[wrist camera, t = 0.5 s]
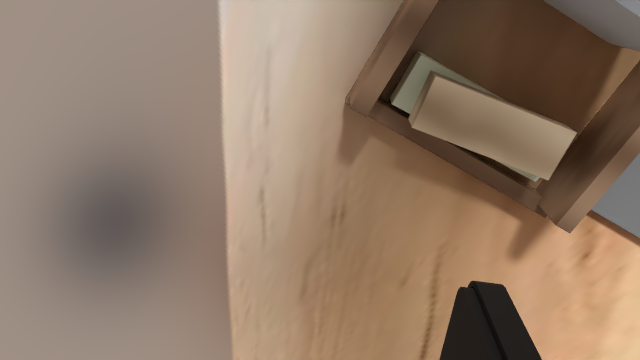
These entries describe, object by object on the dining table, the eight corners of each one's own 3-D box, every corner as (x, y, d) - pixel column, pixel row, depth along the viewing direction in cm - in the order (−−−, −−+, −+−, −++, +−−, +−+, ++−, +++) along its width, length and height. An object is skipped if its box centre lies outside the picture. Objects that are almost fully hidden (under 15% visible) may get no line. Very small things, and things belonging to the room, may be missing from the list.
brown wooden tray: (568, -277, 28) (634, -354, 22) (796, -106, 31) (917, -129, 24) (345, 98, 37) (345, 123, 30) (538, 209, 39) (576, 254, 33)
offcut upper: (430, 70, 34) (435, 76, 32) (563, 123, 35) (577, 132, 33) (408, 118, 35) (411, 127, 33) (536, 169, 36) (548, 180, 34)
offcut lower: (416, 49, 36) (421, 54, 33) (555, 128, 37) (569, 137, 35) (389, 96, 37) (391, 104, 35) (524, 170, 39) (535, 182, 36)
